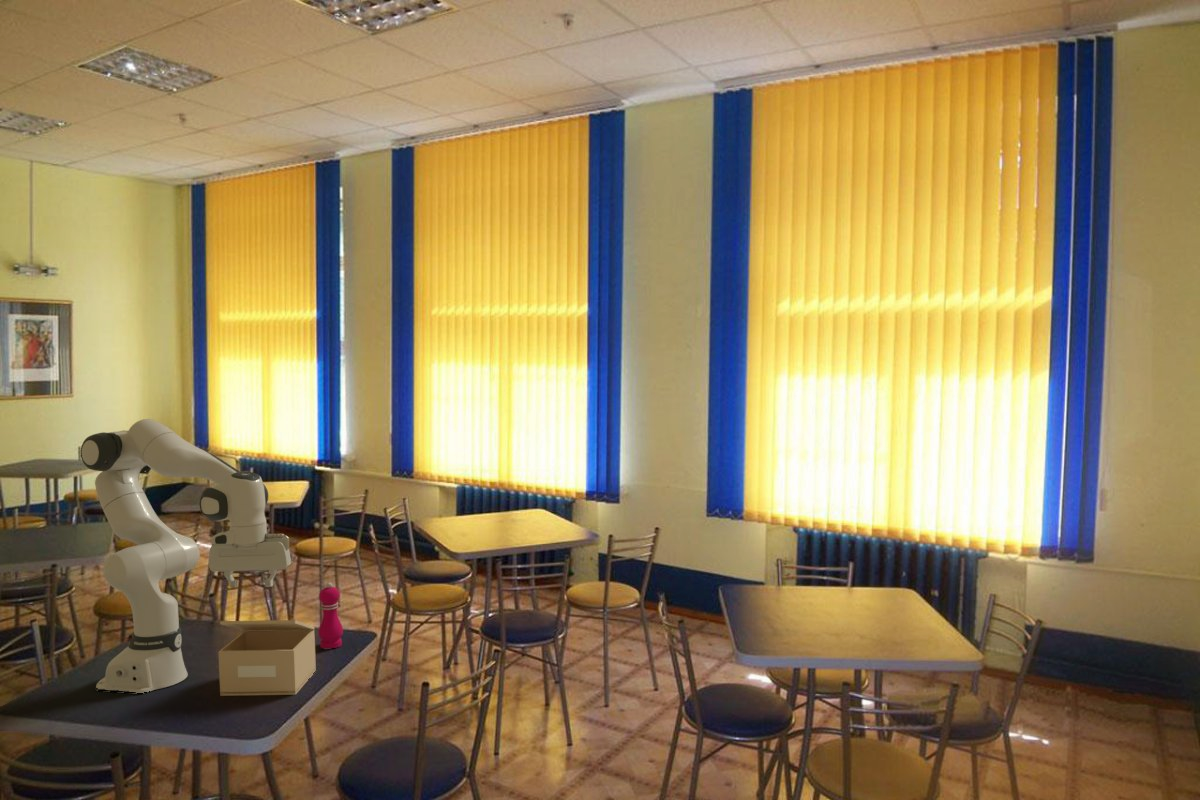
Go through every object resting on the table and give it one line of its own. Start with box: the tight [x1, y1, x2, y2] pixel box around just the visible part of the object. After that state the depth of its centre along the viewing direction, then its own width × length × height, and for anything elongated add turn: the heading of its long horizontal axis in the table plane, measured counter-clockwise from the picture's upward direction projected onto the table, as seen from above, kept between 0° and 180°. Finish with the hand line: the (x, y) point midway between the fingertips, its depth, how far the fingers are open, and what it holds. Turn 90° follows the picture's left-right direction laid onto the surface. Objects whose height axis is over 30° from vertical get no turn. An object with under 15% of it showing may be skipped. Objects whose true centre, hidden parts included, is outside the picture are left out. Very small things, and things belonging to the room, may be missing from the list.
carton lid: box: [219, 619, 316, 631], centre depth 230 cm, size 20×16×1 cm
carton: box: [217, 629, 317, 697], centre depth 229 cm, size 20×16×12 cm
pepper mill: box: [318, 581, 344, 649], centre depth 257 cm, size 7×7×20 cm
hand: (251, 586), depth 218 cm, fingers open, 8 cm apart
